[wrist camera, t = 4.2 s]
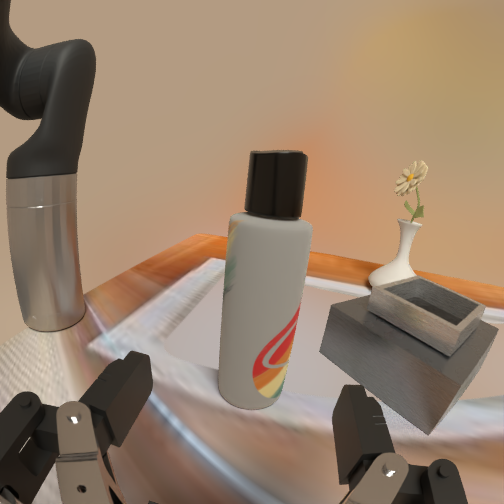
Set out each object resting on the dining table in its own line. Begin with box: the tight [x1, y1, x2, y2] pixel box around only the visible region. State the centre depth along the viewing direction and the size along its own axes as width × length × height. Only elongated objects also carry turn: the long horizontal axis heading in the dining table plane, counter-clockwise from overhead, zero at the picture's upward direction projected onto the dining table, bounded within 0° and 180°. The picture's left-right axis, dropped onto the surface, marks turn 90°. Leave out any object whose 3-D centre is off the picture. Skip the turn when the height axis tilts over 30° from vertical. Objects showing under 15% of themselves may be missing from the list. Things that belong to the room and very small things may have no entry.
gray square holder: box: [319, 275, 498, 435], centre depth 26 cm, size 16×16×9 cm
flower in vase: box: [368, 160, 428, 287], centre depth 45 cm, size 13×11×25 cm
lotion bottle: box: [218, 150, 313, 410], centre depth 20 cm, size 6×6×20 cm
